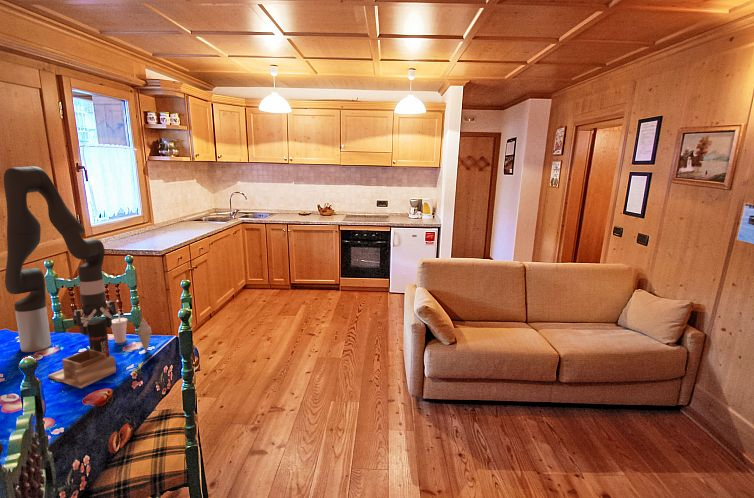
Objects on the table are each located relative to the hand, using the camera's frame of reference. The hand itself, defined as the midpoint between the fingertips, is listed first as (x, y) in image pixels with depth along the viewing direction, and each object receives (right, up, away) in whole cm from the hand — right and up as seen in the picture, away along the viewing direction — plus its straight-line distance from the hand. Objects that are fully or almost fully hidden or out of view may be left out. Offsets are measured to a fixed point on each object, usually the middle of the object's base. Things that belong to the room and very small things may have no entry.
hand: (97, 330), depth 144 cm
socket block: (+4, -13, -11) cm, 18 cm away
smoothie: (-3, -8, +17) cm, 19 cm away
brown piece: (+3, -14, -10) cm, 17 cm away
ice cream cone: (+13, -11, +9) cm, 19 cm away
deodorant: (-1, -11, +3) cm, 12 cm away
